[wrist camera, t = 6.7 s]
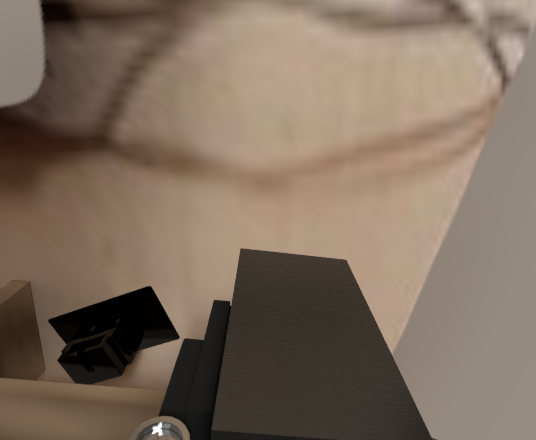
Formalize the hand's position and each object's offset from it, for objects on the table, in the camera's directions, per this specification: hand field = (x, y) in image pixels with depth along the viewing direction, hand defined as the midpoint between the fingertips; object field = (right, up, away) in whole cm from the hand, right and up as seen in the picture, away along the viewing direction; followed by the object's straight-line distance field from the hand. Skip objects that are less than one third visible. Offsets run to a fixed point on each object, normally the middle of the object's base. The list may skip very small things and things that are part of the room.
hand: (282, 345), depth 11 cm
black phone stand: (-13, -5, +16) cm, 22 cm away
